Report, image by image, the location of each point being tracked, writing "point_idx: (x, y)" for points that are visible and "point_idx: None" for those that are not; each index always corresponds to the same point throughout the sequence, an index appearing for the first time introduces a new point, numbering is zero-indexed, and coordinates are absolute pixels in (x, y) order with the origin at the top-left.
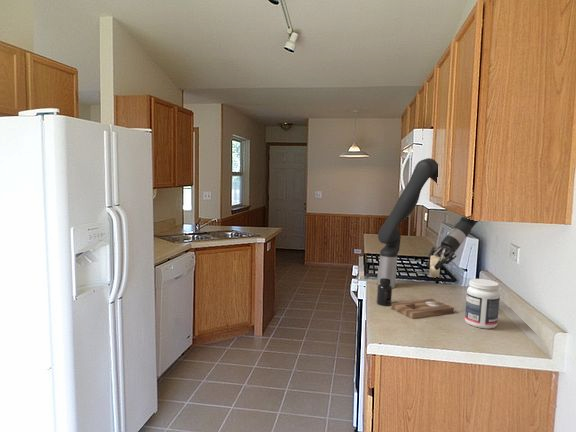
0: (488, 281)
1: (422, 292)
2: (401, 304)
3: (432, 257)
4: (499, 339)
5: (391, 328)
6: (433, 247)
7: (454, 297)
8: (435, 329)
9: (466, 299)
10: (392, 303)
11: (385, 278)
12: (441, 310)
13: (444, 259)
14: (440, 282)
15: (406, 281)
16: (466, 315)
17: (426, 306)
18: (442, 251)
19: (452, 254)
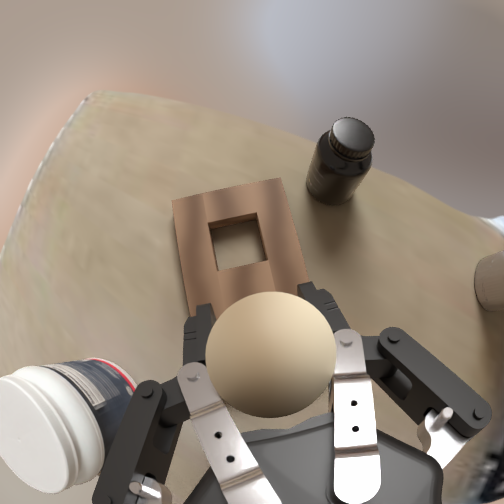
0: (32, 469)
1: None
2: (265, 205)
3: (250, 296)
4: (27, 359)
5: (131, 131)
6: (480, 417)
7: None
8: (93, 235)
9: (80, 374)
10: (279, 179)
11: (370, 141)
12: None
13: (145, 392)
14: (488, 465)
15: None
16: (99, 362)
17: (232, 292)
18: (293, 480)
19: (98, 481)
